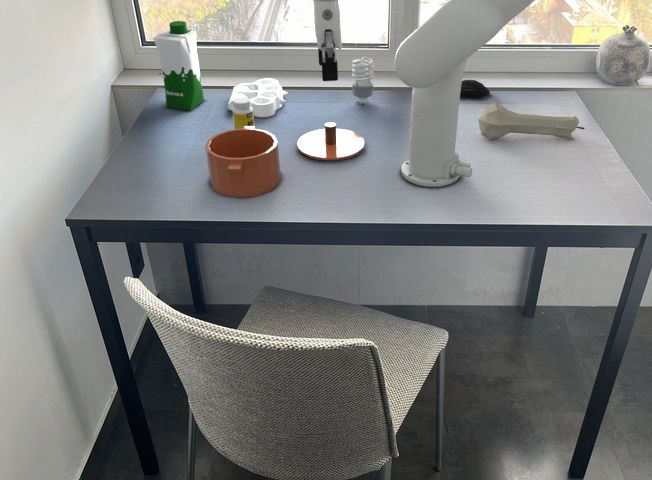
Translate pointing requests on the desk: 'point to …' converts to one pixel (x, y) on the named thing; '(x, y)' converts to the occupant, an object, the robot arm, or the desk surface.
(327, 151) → the pot lid
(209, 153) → the pot
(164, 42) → the milk carton
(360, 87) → the light bulb
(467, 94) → the gaming mouse
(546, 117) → the faceted club
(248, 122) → the supplement bottle
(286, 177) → the desk surface
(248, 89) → the white muffin tray
